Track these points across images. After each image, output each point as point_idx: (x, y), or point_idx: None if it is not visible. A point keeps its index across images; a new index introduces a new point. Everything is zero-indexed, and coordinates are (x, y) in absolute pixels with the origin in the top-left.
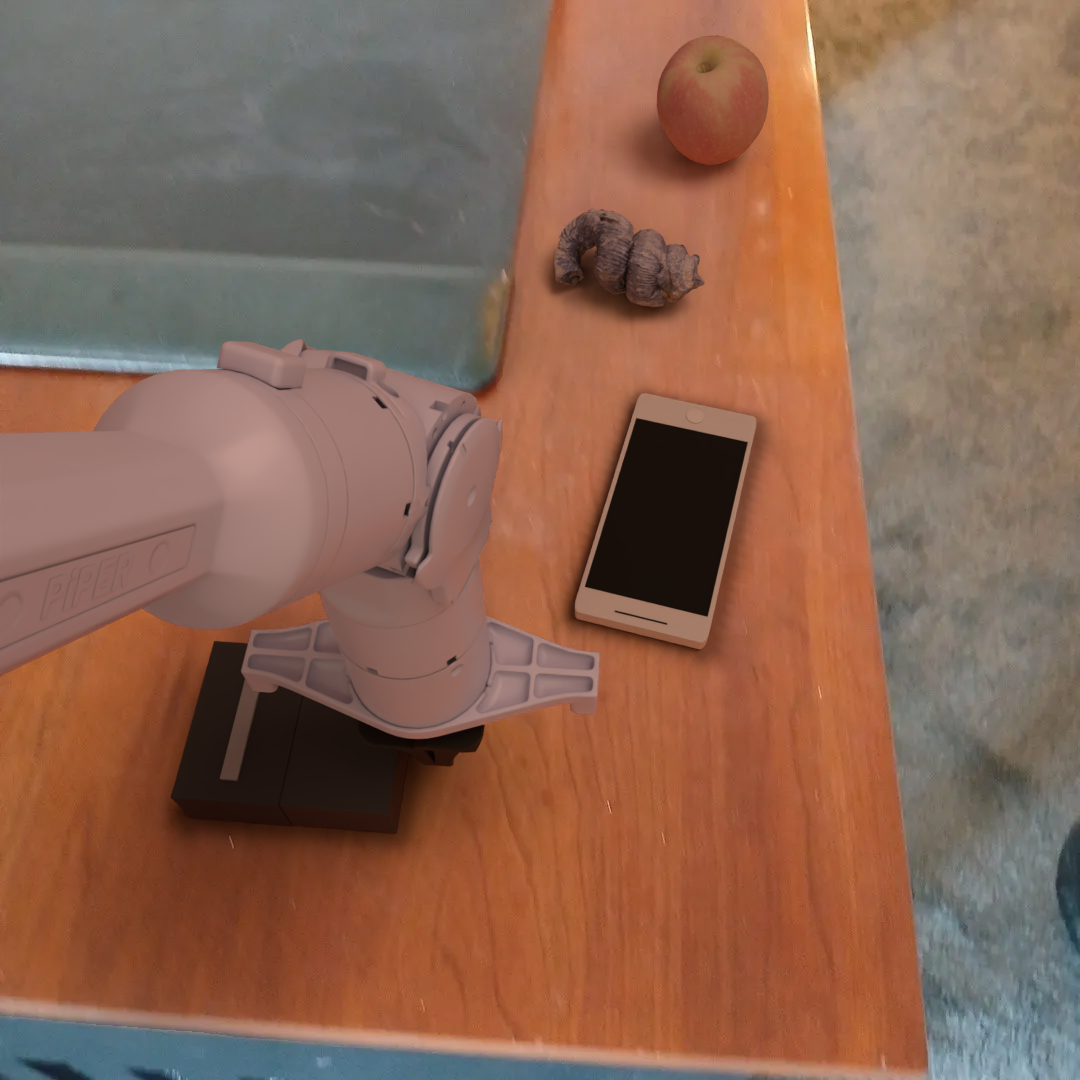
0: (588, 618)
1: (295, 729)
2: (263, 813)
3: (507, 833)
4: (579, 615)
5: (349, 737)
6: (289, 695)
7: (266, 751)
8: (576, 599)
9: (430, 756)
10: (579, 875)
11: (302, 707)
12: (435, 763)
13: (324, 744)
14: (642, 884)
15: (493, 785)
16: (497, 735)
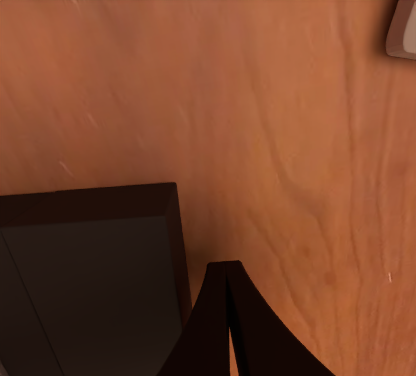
0: (413, 56)
1: (44, 330)
2: None
3: (292, 309)
4: (401, 54)
5: (117, 331)
6: (10, 297)
7: (25, 355)
8: (409, 24)
9: (229, 357)
10: (355, 328)
11: (37, 310)
12: (229, 326)
13: (89, 342)
14: (408, 326)
15: (276, 275)
16: (276, 230)
